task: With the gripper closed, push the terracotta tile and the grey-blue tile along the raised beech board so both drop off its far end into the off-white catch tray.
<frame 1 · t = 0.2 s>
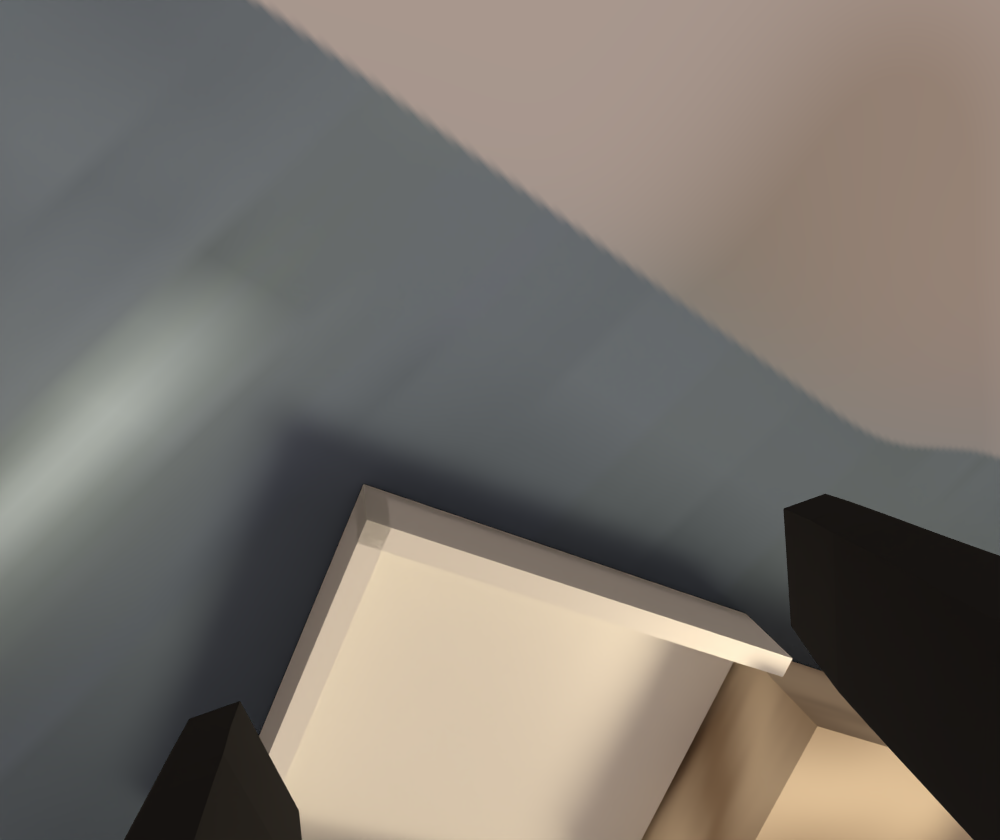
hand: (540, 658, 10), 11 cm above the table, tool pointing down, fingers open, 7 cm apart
tray: (493, 718, 22), on the table
board: (948, 835, 27), on the table
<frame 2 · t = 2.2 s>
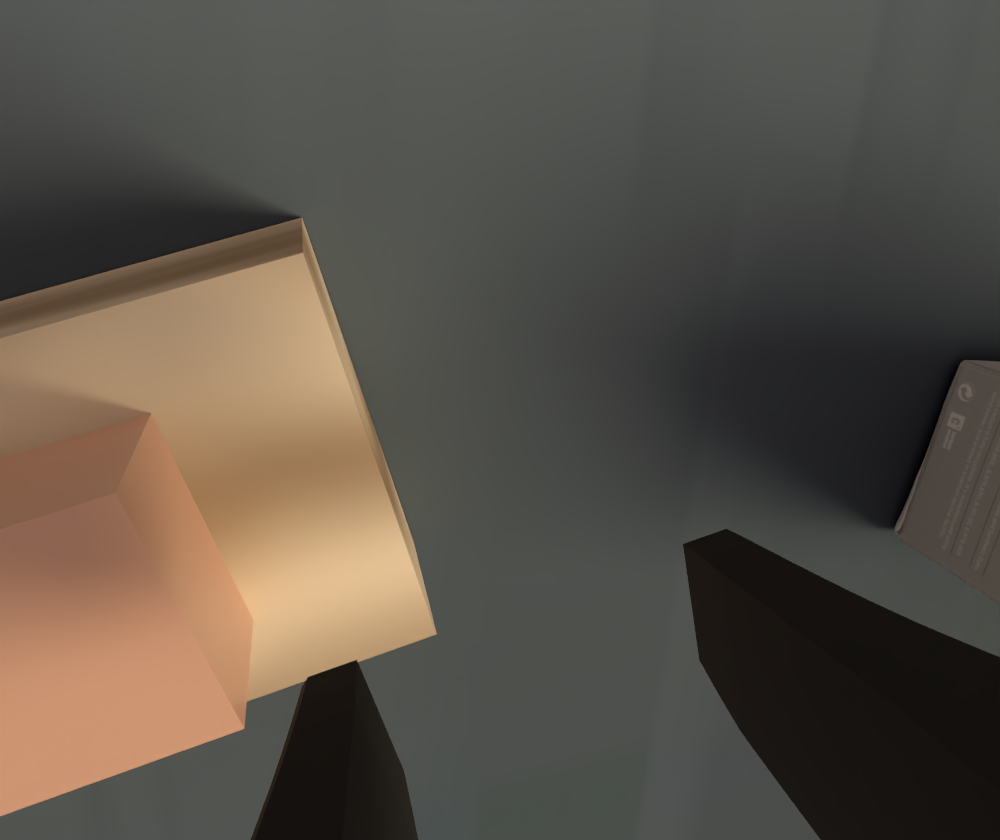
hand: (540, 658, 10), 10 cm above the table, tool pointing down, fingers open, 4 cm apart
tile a: (76, 566, 14), point 4 cm above the table, touching board
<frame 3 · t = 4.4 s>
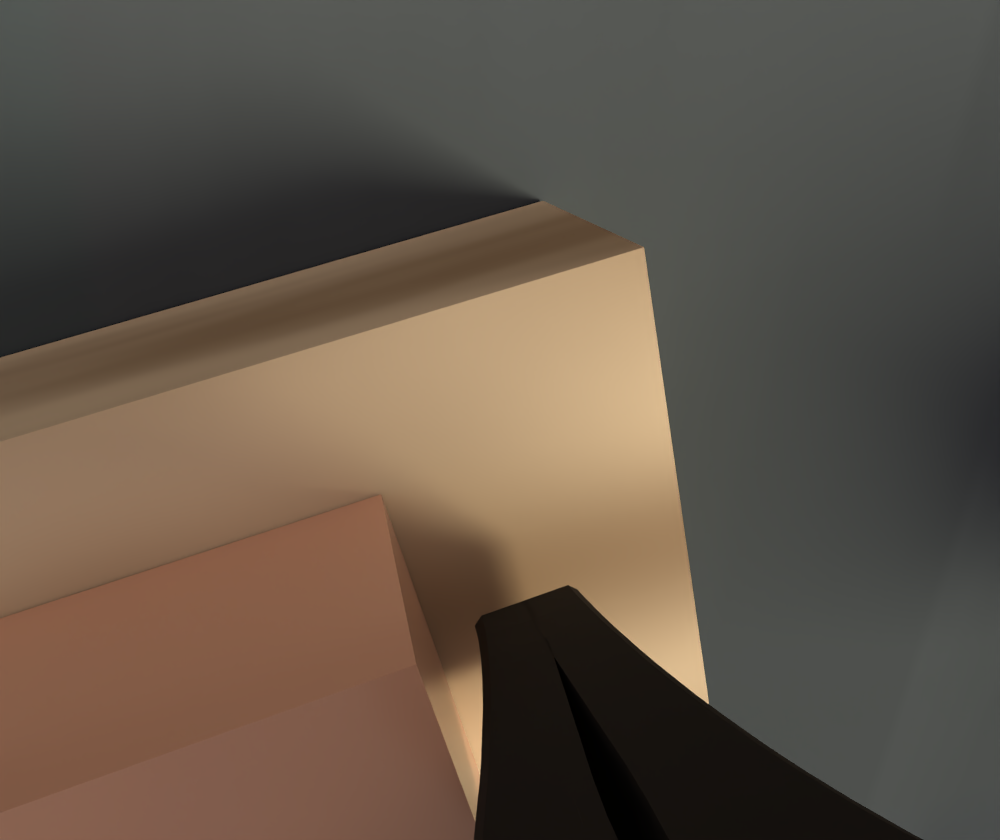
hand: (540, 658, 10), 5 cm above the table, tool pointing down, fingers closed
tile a: (253, 710, 10), point 4 cm above the table, touching gripper
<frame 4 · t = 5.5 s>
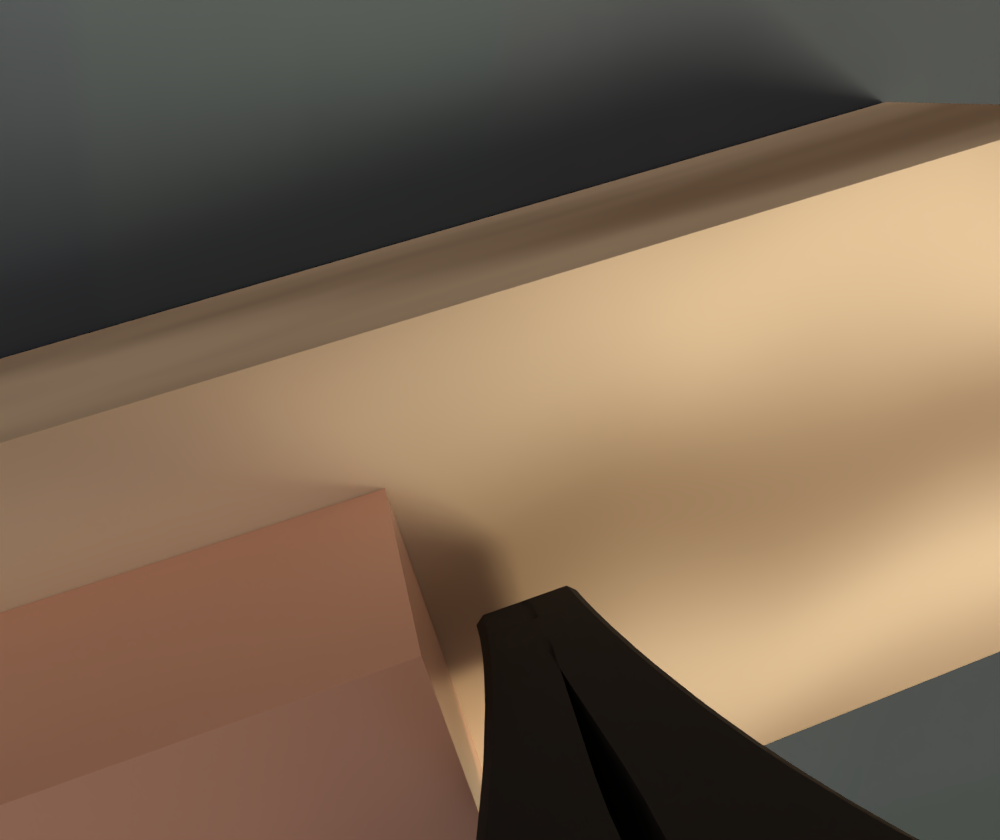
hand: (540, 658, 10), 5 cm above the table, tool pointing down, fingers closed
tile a: (256, 704, 10), point 4 cm above the table, touching gripper, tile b
board: (297, 535, 13), on the table
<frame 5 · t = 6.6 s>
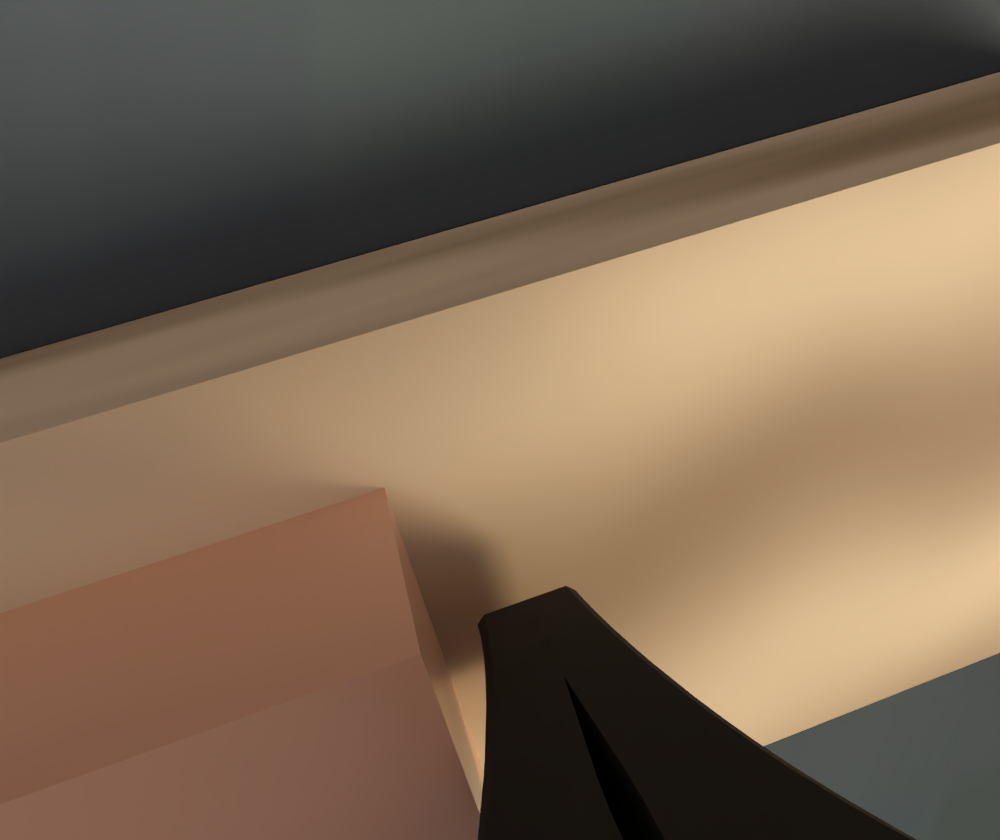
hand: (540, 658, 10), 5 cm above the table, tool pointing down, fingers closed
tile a: (256, 704, 10), point 4 cm above the table, touching gripper, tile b
board: (463, 480, 14), on the table
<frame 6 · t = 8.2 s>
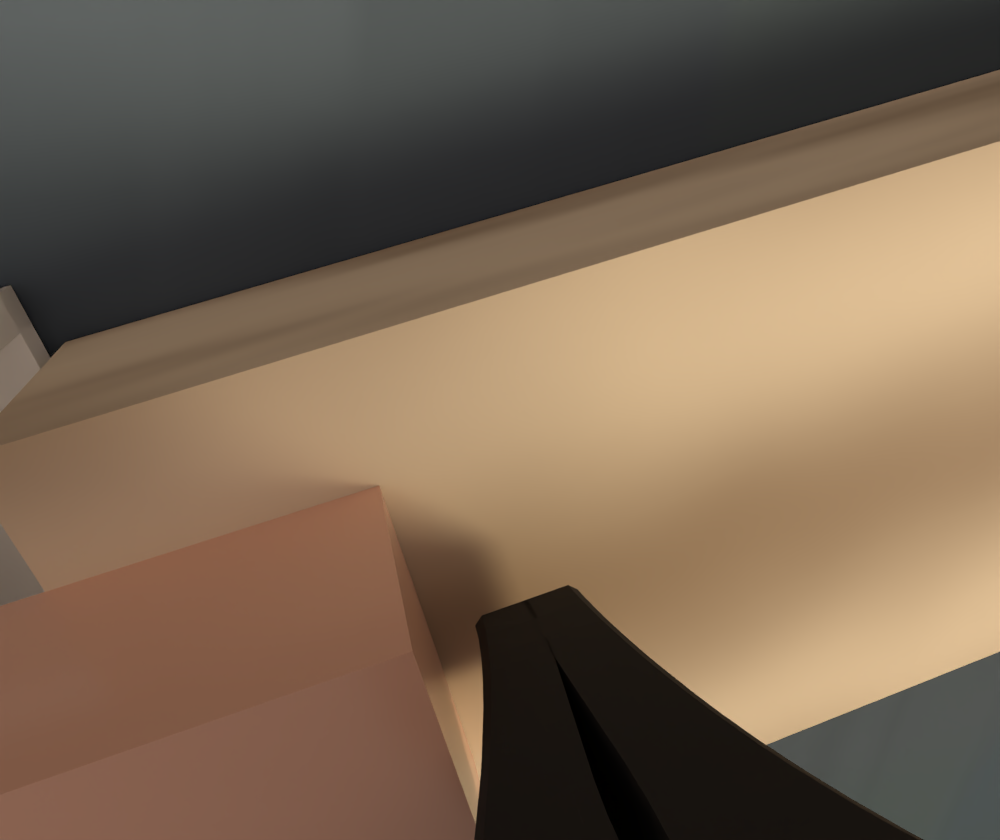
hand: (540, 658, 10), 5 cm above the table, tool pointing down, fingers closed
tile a: (250, 702, 10), point 4 cm above the table, touching board, gripper
board: (793, 370, 15), on the table
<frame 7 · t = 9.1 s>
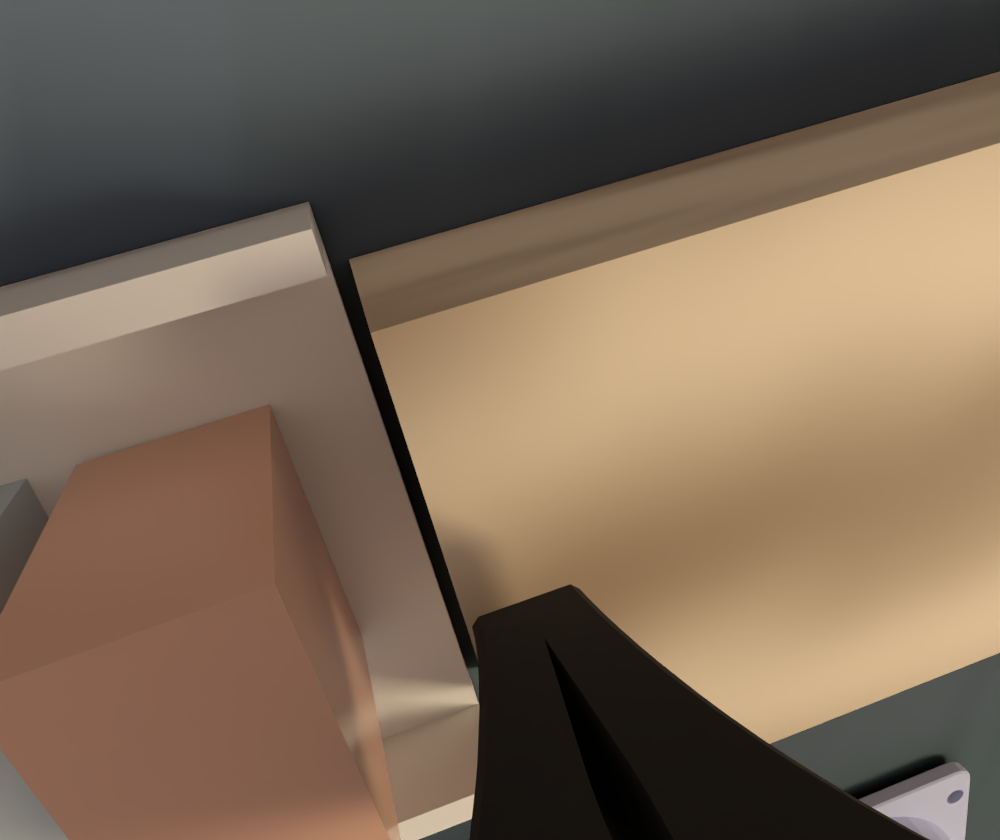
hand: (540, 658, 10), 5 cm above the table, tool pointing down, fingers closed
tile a: (331, 618, 11), point 3 cm above the table, tilted 87°, touching tray
tray: (68, 611, 13), on the table
board: (987, 307, 15), on the table
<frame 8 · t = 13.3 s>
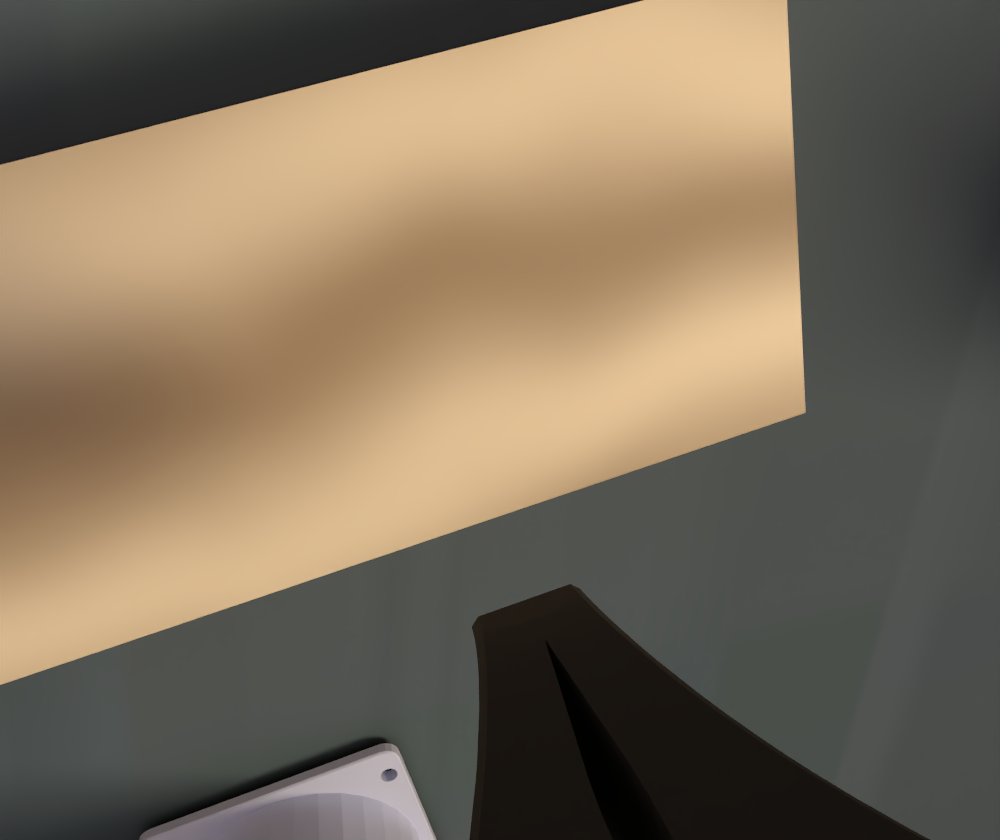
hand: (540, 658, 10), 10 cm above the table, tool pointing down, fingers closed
board: (225, 332, 17), on the table
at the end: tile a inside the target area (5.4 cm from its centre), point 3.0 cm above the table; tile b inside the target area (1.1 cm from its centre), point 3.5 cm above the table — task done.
